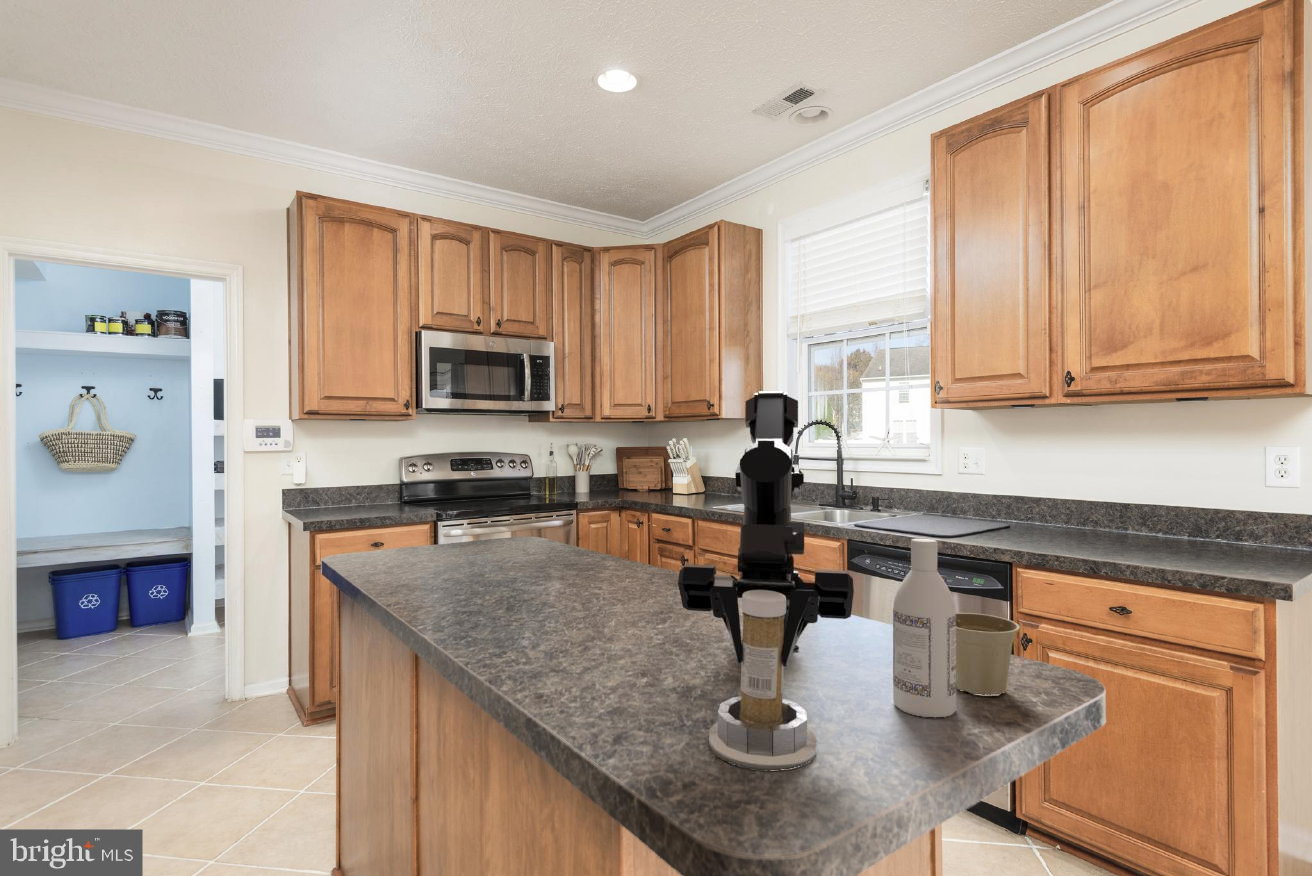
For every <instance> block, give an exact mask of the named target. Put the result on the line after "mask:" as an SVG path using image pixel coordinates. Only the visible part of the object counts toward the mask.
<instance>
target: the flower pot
mask: <svg viewBox="0 0 1312 876" xmlns="http://www.w3.org/2000/svg"><path fill="white" fill-rule="evenodd" d="M1020 627H1021V626H1020V625H1019V623H1017V622H1016V621H1013V620H1011V619H1007V618H1005V617H1000V616H996V615H992V614H986V613H985V614H983V613H975V612H956V688H957V689H956V690H958V689H959V690H963V691H962V692H968V693H969V694H971V693H972V694H982V695H985V694H987V695H988V694H989V695H991V694H1000V693H1002V694H1003V692H1005V691H1006V692H1007V685H1008V679H1009V673H1010V672H1009V670H1010V664H1011V663H1010V662H1011V659H1012V658H1011V656H1012V651H1013V644H1014V642H1015V641H1016V635H1017V633H1018V632H1019V631H1020ZM959 690H958V691H959ZM1006 692H1005V693H1006ZM972 694H971V695H972Z"/></svg>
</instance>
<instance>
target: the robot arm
mask: <svg viewBox="0 0 1312 876" xmlns="http://www.w3.org/2000/svg"><path fill="white" fill-rule="evenodd" d="M753 395H754V396H753V397H751V398H749V399H746V401H745V405H744V408H745V411H744V412H745V414H744V415H745V416H744V418H745V419H744V424H745V428H748V429H749V434H750V440H751V442H752V444H751V445H749V446H748V447H746V448H745V449H744V454H743V455H742V457H741V458H740V460H739V464H737V467H736V470H735V474H734V475H735V477H734V478H735V486H736V489H737V491H738V492H741V501H742V504H743V507H744V508H743V520H742V524H741V525H740V539H739V540H740V541H739V547H738V550H737V554H738V555H737V565H736V567H737V568H736V569H737V572H738V573H739V577H738V578H737V577H735V576H734V575H733V574H717V568H716V565H710V564H709V565H705V564H685V565H684V566H683V567H681V569H680V570H679V574H678V579H677V585H678V590H679V596H680V600H681V603H682V604H681V605H682V608H683V609H684V610H687V611H697V612H712V615H713V617H714V618H716V619H722V621H723V623H724V626H725V628H726V630H727V631H728V634H729V637H730V639H731V642H732V648H733V650H734V654H735V658H736V661H737V664H741V662H742V630H741V620H740V619H741V618H740V610H739V609H740V608H739V599H742V595H743V593H744V592H747V591H751V590H768V591H775V592H779V593H781V594H783V595H785V597H786V614H785V618H784V641H783V642H784V644H783V666H784V667H788V665H789V663H790V660H791V658H792V655H793V652H794V651H799V650H800V646H799V645H797V643H798V641H799V639H800V637H801V635H802V633H803V632H804V631H805V629H806V628H807V626H808V625H809V624H816V623H817V622H818V619H819V617H820V618H821V619H823V618H824V619H838V620H840V619H842V620H846V619H849V618H850V617H852V611H853V603H854V593H855V592H854V591H855V590H854V578H853V576H852V575H851V574H850V573H849V571H846V570H830V569H814V582H806V581H805V582H804V580H803V579H802V577H801V576H800V574H799V570H795V563H794V562H795V558H794V556H793V555H804V554H805V522H804V521H792V507H791V502H792V500H793V493H798V492H799V490H800V487H801V486H802V485H803V484H805V482H804V481H805V480H804V479H805V475H804V473H803V472H802V471H801V468H799V464H793V463H794V459H793V449H792V448H791V447H790V446H791V445H792V443H793V441H794V434H795V433H794V432H795V430H794V428H798V427H799V400H797V399H795V398H793V397H790V396H788V392H784V391H783V390H781V391H780V390H778V391H777V390H776V391H775V390H773V391H771V390H770V391H768V390H767V391H765V390H764V391H757V392H755V393H754V394H753ZM818 616H819V617H818Z"/></svg>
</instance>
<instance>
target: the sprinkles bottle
mask: <svg viewBox="0 0 1312 876" xmlns="http://www.w3.org/2000/svg"><path fill="white" fill-rule="evenodd" d="M741 611H742V613H741V614H742V617H743V618H742V619H743V621H742V638H741V641H742V662H741V663H740V664H741V667H740V673H741V674H740V691H741V692H740V696H741V712H740V715H739V718H740V721H742V722H745V723H748V724H751V725H760V726H776V725H781V724H782V722H783V717H782V699H783V692H784V671H785V669H784V668H785V666H783V644H784V642H783V641H784V618H785V614H786V597H785V595H783V594H781V593H779V592H775V591H768V590H751V591H747V592H744V593H743V595H742V598H741Z"/></svg>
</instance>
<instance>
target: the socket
mask: <svg viewBox="0 0 1312 876" xmlns="http://www.w3.org/2000/svg"><path fill="white" fill-rule="evenodd" d="M740 712H741V695H740V696H733V697H731V698H729V699H727V700H724V701H722V702H721V703H720V704H719V707H718V711H717V722H715V723H714V724H713V725H712V726H711V727H710V729H709V733H708V745H709V749H710V748H711V749H710V751H713V752H712V753H713V754H714V755H715V754H716V755H717V756H719V757H720V758H721V759H720V758H719V757H718V758H719V759H720V760H722V759H723V760H722V761H724V760H725V761H727V762H730V763H732V764H735V765H739V766H741V767H740V768H742V767H744V768H743V769H745V768H749V769H748V770H750V769H756V770H755V771H757V770H767V771H766V772H771V771H770V770H781V769H790V768H794V767H798V766H801V765H804V764H806V763H808V762H809V761H811V760H812V759H813V758H814V756H815V755H817V751H816V750H818V749H817V742H818V741H817V738H816V735H815V734H814V732H813V731H812V730H811V729H809V728H808V725H807V724H808V719H807V717H808V716H807V710H806V709H805V708H803V707H802V706H801V705H799V704H797V703H796V702H794V701H791V700H788V699H785V698H782V717H783V722H782V724H781V725H776V726H760V725H751V724H748V723H745V722H742V721H740V718H739V715H740ZM716 755H715V756H716ZM717 756H716V757H717ZM815 757H816V756H815ZM814 759H815V758H814ZM814 759H813V760H814ZM813 760H812V761H813ZM725 761H724V762H725ZM812 761H811V762H812ZM727 762H726V763H727ZM730 763H729V764H730ZM732 764H731V765H732ZM808 764H809V763H808ZM735 765H734V766H735ZM806 765H807V764H806ZM804 766H805V765H804Z"/></svg>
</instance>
